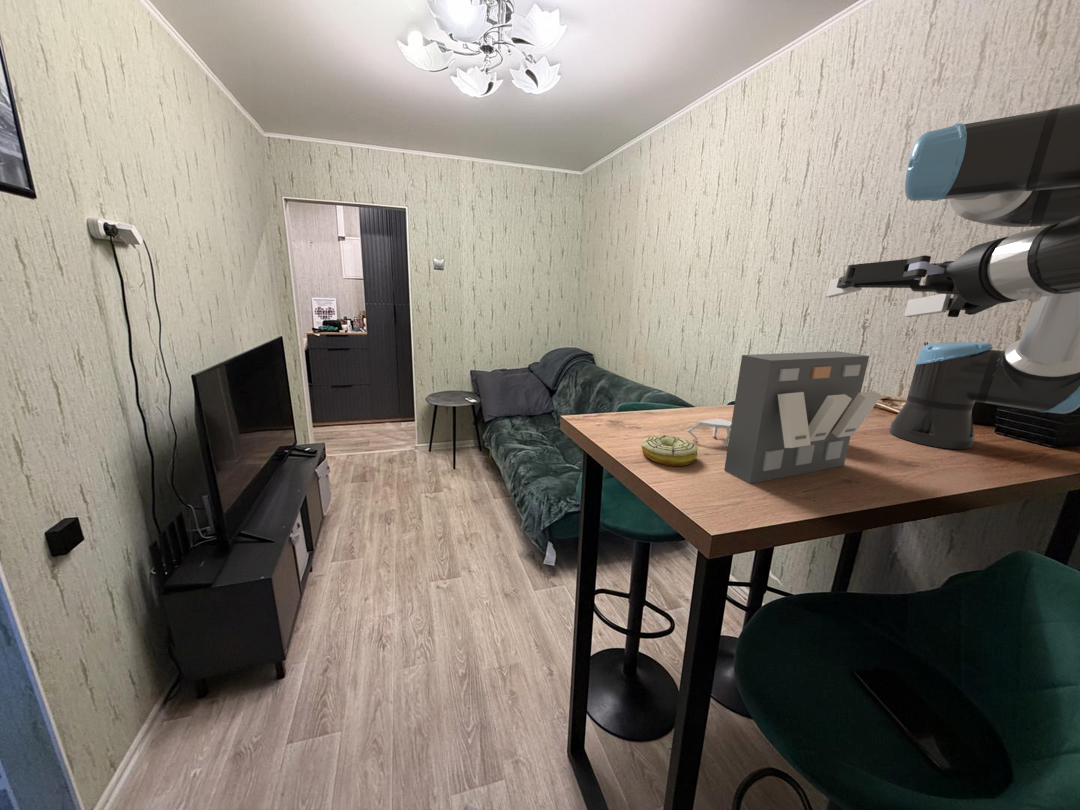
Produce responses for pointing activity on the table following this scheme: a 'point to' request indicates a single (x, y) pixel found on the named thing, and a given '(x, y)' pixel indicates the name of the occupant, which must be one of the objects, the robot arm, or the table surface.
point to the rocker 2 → (856, 414)
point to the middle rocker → (827, 416)
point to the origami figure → (716, 424)
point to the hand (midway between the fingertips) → (869, 298)
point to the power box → (758, 413)
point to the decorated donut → (669, 450)
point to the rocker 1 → (794, 420)
